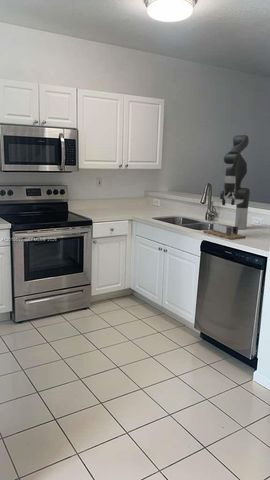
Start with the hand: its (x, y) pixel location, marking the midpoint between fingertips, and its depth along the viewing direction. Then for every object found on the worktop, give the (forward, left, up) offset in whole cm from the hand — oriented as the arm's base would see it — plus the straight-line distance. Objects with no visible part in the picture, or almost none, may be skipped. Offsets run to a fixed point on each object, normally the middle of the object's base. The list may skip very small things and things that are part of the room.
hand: (228, 205), depth 280 cm
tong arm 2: (-3, -2, -20) cm, 20 cm away
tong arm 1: (+1, -3, -20) cm, 20 cm away
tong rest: (-1, -2, -23) cm, 23 cm away
